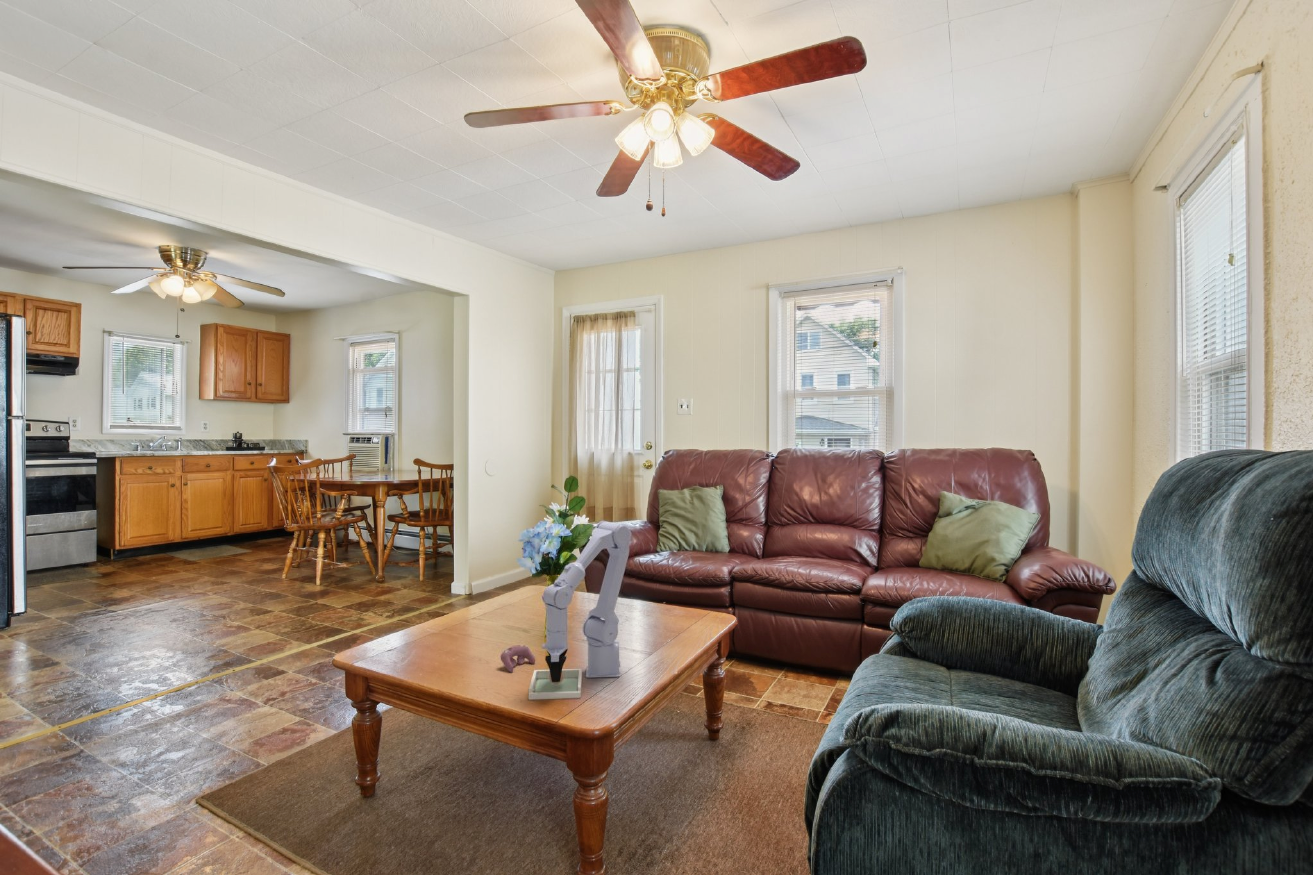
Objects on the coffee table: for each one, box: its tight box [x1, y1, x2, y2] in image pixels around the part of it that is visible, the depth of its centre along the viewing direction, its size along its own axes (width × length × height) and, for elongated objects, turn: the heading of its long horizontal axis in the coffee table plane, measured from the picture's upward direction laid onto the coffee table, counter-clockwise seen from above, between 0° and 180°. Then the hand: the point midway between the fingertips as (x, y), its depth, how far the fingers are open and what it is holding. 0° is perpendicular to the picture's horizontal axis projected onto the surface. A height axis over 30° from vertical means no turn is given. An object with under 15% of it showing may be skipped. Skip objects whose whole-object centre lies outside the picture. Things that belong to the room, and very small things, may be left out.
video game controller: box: [500, 644, 536, 673], centre depth 183 cm, size 10×5×7 cm, turn 141°
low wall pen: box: [528, 668, 583, 701], centre depth 168 cm, size 14×14×2 cm
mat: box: [533, 678, 578, 693], centre depth 168 cm, size 11×11×1 cm
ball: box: [549, 671, 564, 684], centre depth 168 cm, size 4×4×4 cm
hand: (556, 678), depth 168 cm, fingers closed on ball, 4 cm apart
